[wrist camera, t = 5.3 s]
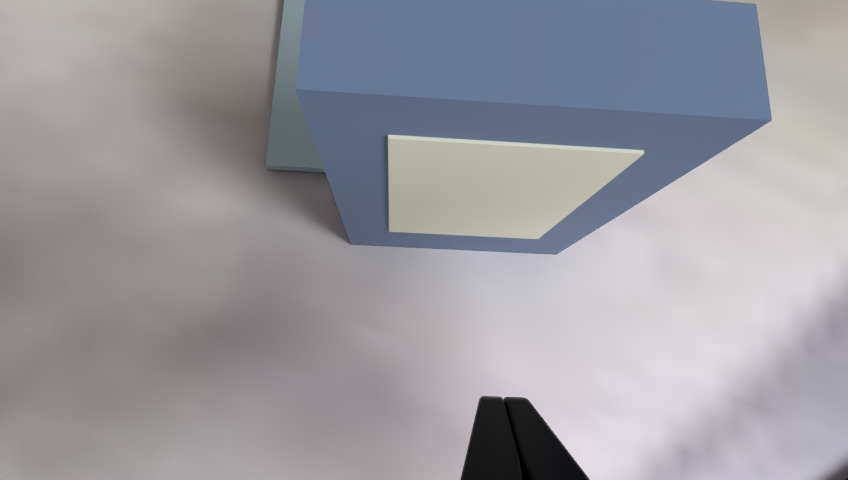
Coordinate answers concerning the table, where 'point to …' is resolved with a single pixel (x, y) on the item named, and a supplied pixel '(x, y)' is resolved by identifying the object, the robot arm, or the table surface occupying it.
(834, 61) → the table surface
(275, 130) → the mat
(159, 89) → the table surface
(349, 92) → the box
